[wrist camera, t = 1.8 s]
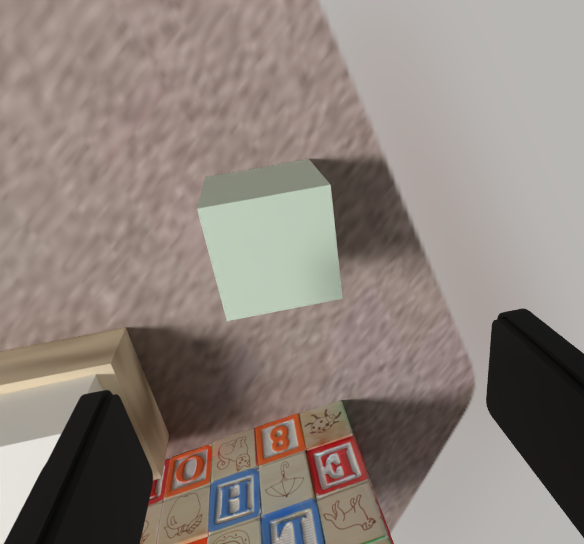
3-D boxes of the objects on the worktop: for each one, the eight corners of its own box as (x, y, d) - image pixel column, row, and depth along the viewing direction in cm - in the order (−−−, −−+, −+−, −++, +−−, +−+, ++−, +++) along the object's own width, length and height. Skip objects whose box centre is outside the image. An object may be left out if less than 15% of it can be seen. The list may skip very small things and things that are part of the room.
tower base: (-29, 353, 22) (-72, 399, 19) (127, 323, 23) (110, 363, 19) (38, 457, 26) (11, 510, 23) (170, 430, 26) (161, 478, 23)
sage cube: (205, 176, 19) (197, 208, 15) (308, 158, 20) (330, 184, 15) (228, 269, 22) (227, 321, 17) (320, 252, 22) (342, 298, 17)
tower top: (-52, 405, 19) (-106, 469, 16) (95, 374, 20) (69, 431, 16) (17, 496, 23) (-18, 565, 19) (142, 469, 23) (128, 531, 20)
